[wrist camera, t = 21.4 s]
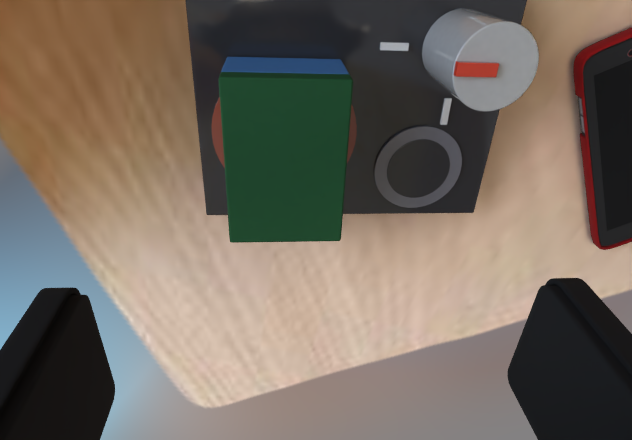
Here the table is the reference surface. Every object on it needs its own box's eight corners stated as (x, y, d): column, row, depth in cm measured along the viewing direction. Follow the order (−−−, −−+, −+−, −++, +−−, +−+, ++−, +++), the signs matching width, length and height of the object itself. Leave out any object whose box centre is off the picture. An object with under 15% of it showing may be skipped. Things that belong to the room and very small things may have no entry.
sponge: (341, 58, 22) (353, 79, 19) (331, 203, 26) (340, 241, 23) (226, 56, 22) (217, 76, 18) (235, 203, 26) (229, 243, 22)
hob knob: (501, 9, 22) (555, 24, 18) (484, 85, 24) (528, 114, 19) (428, 6, 21) (465, 21, 17) (416, 84, 23) (447, 113, 19)
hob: (529, -41, 23) (558, -40, 21) (472, 193, 30) (489, 214, 28) (188, -57, 21) (179, -57, 19) (211, 195, 28) (206, 216, 26)
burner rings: (483, 63, 23) (485, 64, 23) (451, 206, 27) (452, 208, 27) (205, 56, 22) (205, 58, 22) (218, 207, 26) (217, 209, 26)
